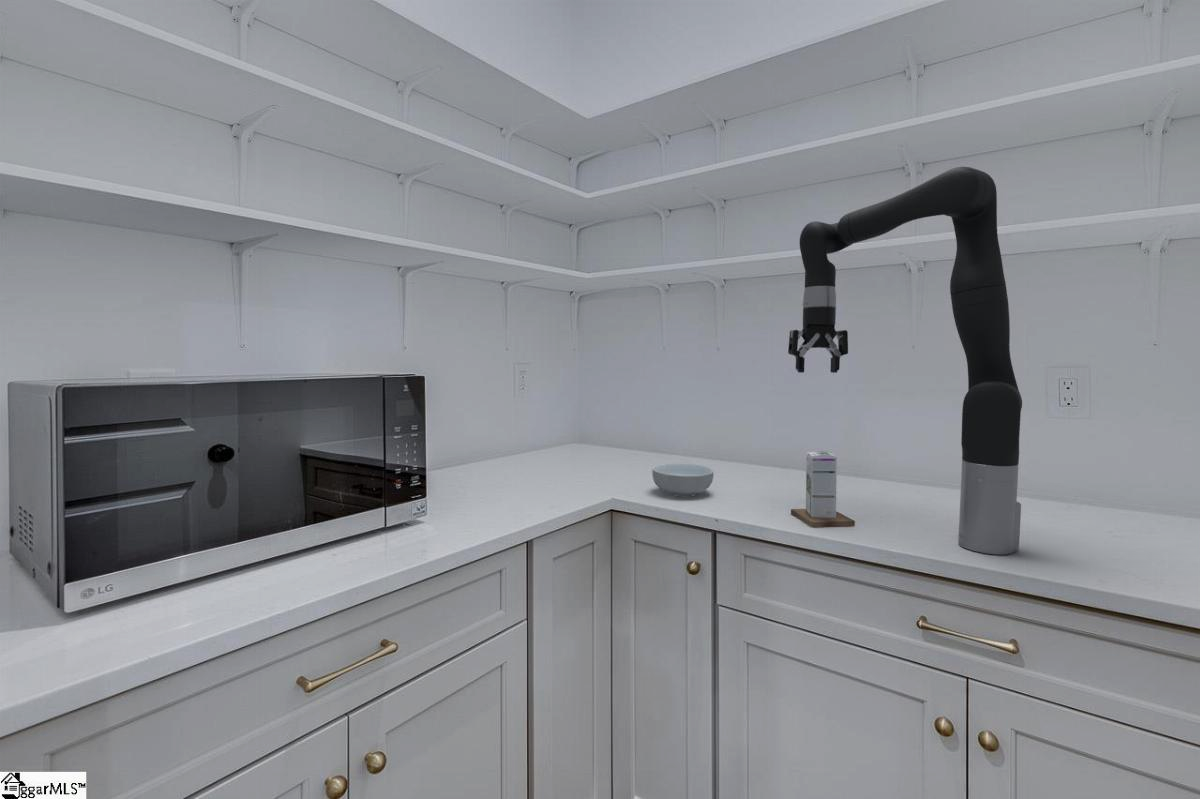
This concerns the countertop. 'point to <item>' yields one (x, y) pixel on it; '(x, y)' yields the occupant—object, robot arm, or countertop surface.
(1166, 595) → the countertop surface
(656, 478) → the cereal bowl
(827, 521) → the walnut board
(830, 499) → the syrup box
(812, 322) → the robot arm
